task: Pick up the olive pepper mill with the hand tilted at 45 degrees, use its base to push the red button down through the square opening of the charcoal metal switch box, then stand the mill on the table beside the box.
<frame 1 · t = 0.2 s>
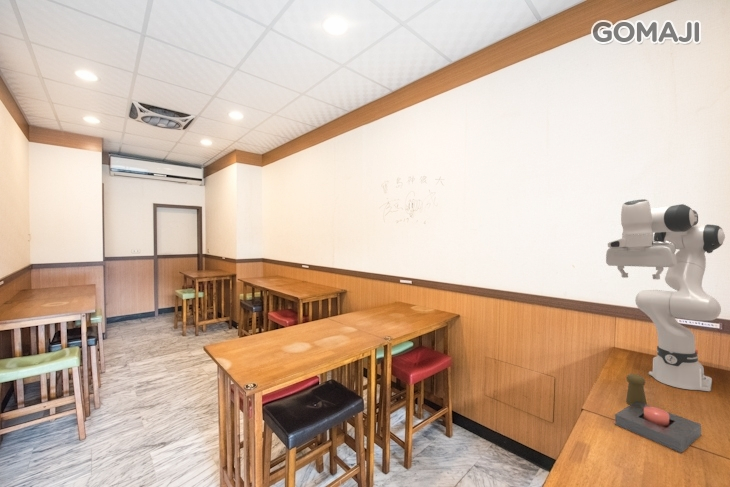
hand: (640, 278, 114), 48 cm above the table, tool pointing down, fingers open, 8 cm apart
button: (656, 417, 98), point 4 cm above the table, slide at 0.0 cm
switch box: (656, 429, 98), on the table
olive pepper mill: (636, 404, 113), on the table
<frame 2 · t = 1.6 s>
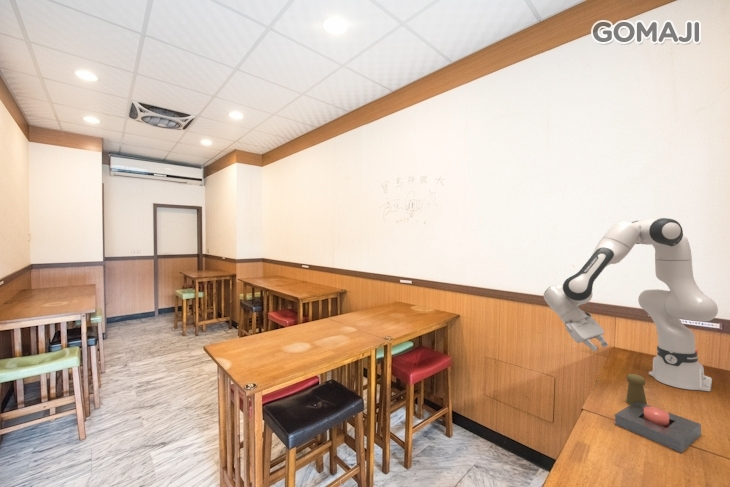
hand: (601, 348, 122), 18 cm above the table, tool tilted 45°, fingers open, 8 cm apart
nothing on the table moved.
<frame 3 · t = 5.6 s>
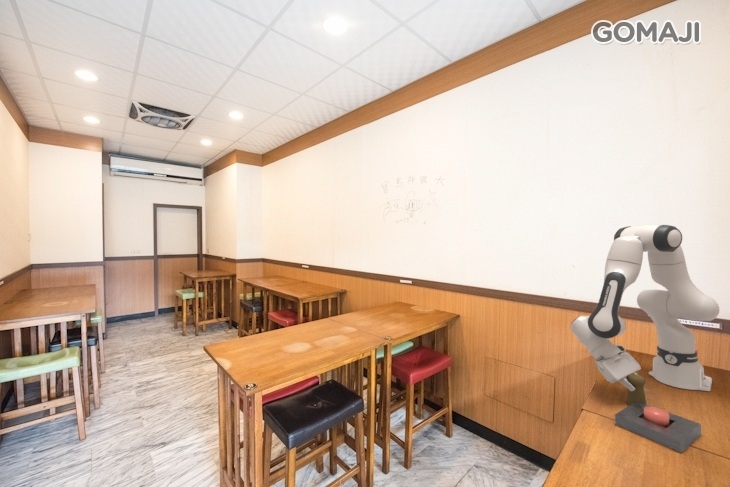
hand: (638, 388, 112), 6 cm above the table, tool tilted 45°, fingers closed on olive pepper mill, 5 cm apart
olive pepper mill: (636, 404, 113), on the table, touching gripper
everything else where it was.
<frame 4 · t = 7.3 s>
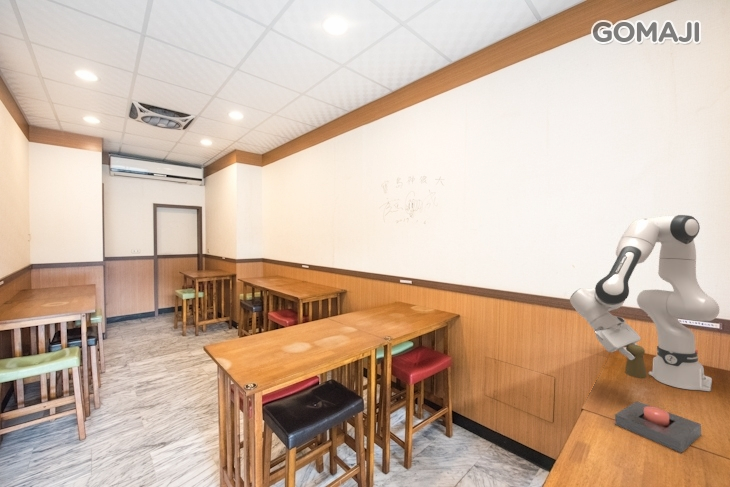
hand: (637, 357, 111), 18 cm above the table, tool tilted 45°, fingers closed on olive pepper mill, 5 cm apart
olive pepper mill: (635, 375, 112), point 12 cm above the table, touching gripper
everything else where it was.
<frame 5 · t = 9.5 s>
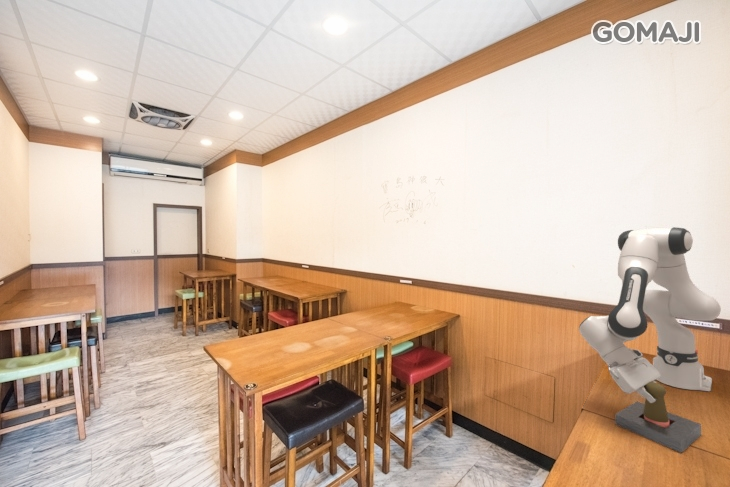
hand: (658, 399, 97), 10 cm above the table, tool tilted 45°, fingers open, 5 cm apart
button: (656, 423, 98), point 2 cm above the table, slide at 1.9 cm, touching olive pepper mill
olive pepper mill: (655, 417, 98), point 4 cm above the table, touching button
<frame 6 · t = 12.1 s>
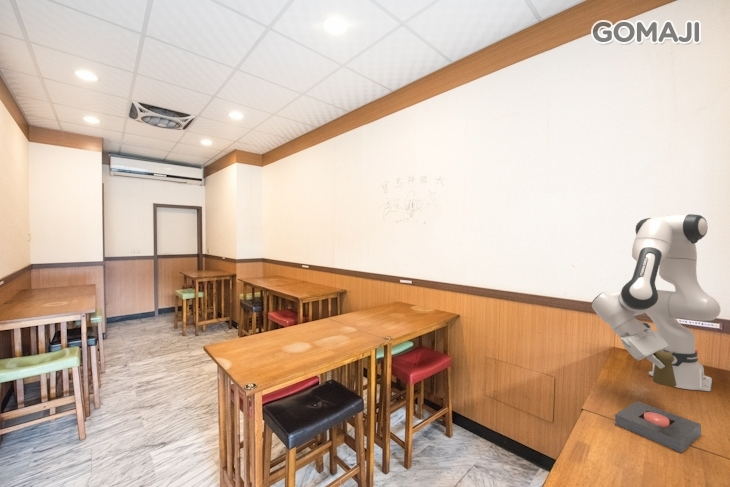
hand: (666, 365, 106), 17 cm above the table, tool tilted 45°, fingers closed on olive pepper mill, 4 cm apart
button: (656, 423, 98), point 2 cm above the table, slide at 1.9 cm
olive pepper mill: (664, 383, 106), point 11 cm above the table, touching gripper
when the fingers open (8 cm above the table, at t = 14.2 s): olive pepper mill drops 2 cm, on the table.
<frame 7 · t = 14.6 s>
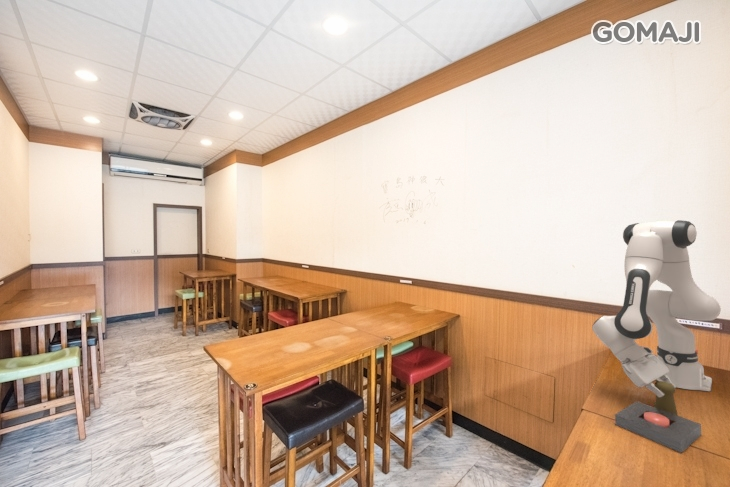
hand: (667, 392, 106), 8 cm above the table, tool tilted 45°, fingers open, 8 cm apart
olive pepper mill: (665, 414, 107), on the table
everything else where it was.
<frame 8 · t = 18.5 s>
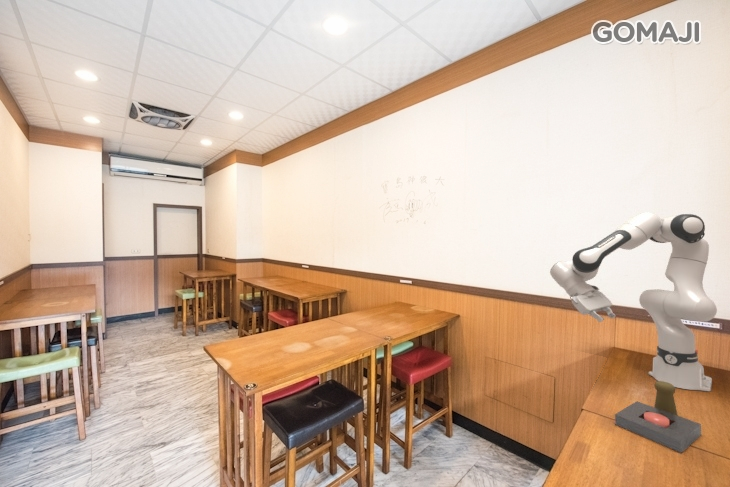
hand: (608, 319, 124), 29 cm above the table, tool tilted 45°, fingers open, 8 cm apart
nothing on the table moved.
at the end: button slide at 1.9 cm; olive pepper mill inside the target area (0.2 cm from its centre), on the table; olive pepper mill tilted 0° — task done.
